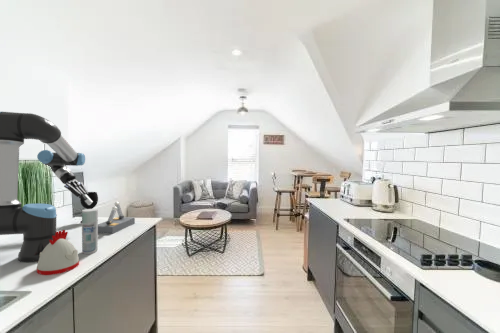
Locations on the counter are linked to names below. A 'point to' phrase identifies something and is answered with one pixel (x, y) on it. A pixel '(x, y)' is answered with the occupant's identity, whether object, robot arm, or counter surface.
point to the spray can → (89, 231)
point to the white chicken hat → (58, 256)
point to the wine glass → (93, 197)
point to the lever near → (111, 215)
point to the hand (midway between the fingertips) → (90, 203)
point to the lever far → (119, 210)
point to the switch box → (115, 225)
